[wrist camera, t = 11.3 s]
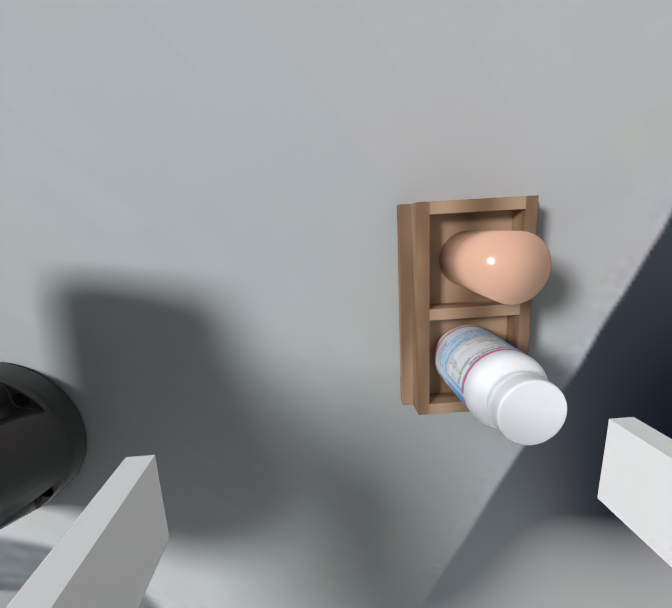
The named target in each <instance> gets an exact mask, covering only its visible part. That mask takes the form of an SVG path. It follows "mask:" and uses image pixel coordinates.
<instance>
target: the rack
mask: <svg viewBox="0 0 672 608" xmlns="http://www.w3.org/2000/svg"><path fill="white" fill-rule="evenodd" d="M538 196H539V195H537V196H520V197H503V198H485V199H468V200H450V201H433V202H417V203H413V204H404V205H397V221H398V275H399V328H400V382H401V401H402V404H403V405H407V404H413V405H414V407H415V409H416V410H417V412H418V414H419V415H422V414H436V413H449V412H463V411H469V410H468V409H467V407H466V406H465V405H464V404H463V403H462V401H461V400H460V399H459V398H458V397H457V395H456V394H455V393H454V392H453V391H452V389H451V388H450V387H449V386H448V384H447V383H446V382H445V381H444V380H443V378H442V377H441V376H440V375H439V373H438V371H437V370H436V367H435V364H434V351H435V347H436V345H437V343H438V341H439V340H440V338H441V337H442V336H443V335H444V334H445V333H447V332H448V331H450V330H452V329H454V328H456V327H459V326H463V325H476V326H479V327H482V328H484V329H486V330H487V331H489V332H491V333H492V334H494V335H496V336H497V337H499V338H500V339H502V340H504V341H505V342H507V343H509V344H510V345H512V346H514V347H515V348H517V349H518V350H520V351H522V352H523V353H525V354H526V355H528V347H529V332H530V317H531V302H532V299H530V300H528V301H526V302H523V303H520V304H514V305H508V304H502V303H499V302H497V301H494V300H492V299H489V298H487V297H485V296H482V295H480V294H478V293H475V292H473V291H470V290H468V289H466V288H463V287H461V286H458V285H456V284H454V283H452V282H450V281H449V280H448V279H447V278H446V277H445V276H444V275H443V273H442V271H441V268H440V264H439V257H440V252H441V249H442V247H443V245H444V244H445V242H446V241H447V240H448V239H449V238H450V237H451V236H452V235H454V234H456V233H458V232H460V231H464V230H496V231H526V232H530V233H532V234H535V235H536V226H537V211H538Z"/></svg>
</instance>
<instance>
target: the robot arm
mask: <svg viewBox="0 0 672 608" xmlns="http://www.w3.org/2000/svg"><path fill="white" fill-rule="evenodd" d="M85 451H86V434H85V429H84V425H83V422H82V420H81V417H80V415H79V413H78V411H77V409H76V408H75V406H74V405H73V403H72V402H71V401H70V399H69V398H68V397H67V396H66V395H65V394H64V393H63V392H62V391H61V390H60V389H59V388H58V387H57V386H56V385H55V384H53V383H52V382H51V381H49V380H48V379H46V378H44V377H43V376H41V375H39V374H37V373H35V372H33V371H31V370H29V369H26V368H23V367H20V366H17V365H12V364H7V363H0V529H2V528H4V527H5V526H7V525H9V524H11V523H13V522H14V521H16V520H18V519H20V518H22V517H23V516H25V515H27V514H29V513H31V512H32V511H34V510H36V509H38V508H39V507H41V506H43V505H44V504H46V503H47V502H49V501H50V500H51V499H52V498H54V497H55V496H56V495H57V494H58V493H59V492H60V491H61V490H62V489H63V488H64V487H65V486H66V485H67V484H68V483H69V482H70V481H71V480H72V479H73V478H74V476H75V475H76V474H77V472H78V471H79V469H80V467H81V465H82V463H83V460H84V456H85ZM598 499H599V500H600V501H602V502H603V503H604V504H605V505H606V506H607V507H608V508H609V509H610V510H611V511H612V512H613V513H614V514H615V515H616V516H617V517H618V518H620V519H621V520H622V521H623V522H624V523H625V524H626V525H627V526H628V527H629V528H630V529H632V531H633V532H635V533H636V534H637V535H638V536H639V537H640V538H641V539H642V540H643V541H644V542H645V543H646V544H647V545H648V546H649V547H650V548H652V549H653V550H654V551H655V552H656V553H657V554H658V555H659V556H660V557H661V558H662V559H663V560H664V561H665V562H666V563H668V564H669V565H670V566H671V567H672V439H670V438H669V437H667V436H665V435H663V434H662V433H660V432H658V431H657V430H655V429H653V428H651V427H650V426H648V425H646V424H645V423H643V422H641V421H640V420H638V419H636V418H634V417H626V418H614V419H609V424H608V431H607V437H606V444H605V452H604V458H603V465H602V471H601V478H600V485H599V491H598ZM168 540H169V533H168V527H167V521H166V515H165V510H164V504H163V498H162V492H161V486H160V481H159V475H158V469H157V463H156V457H155V455H146V456H134V457H126V458H125V459H124V460H123V461H122V463H121V464H120V465H119V466H118V468H117V469H116V470H115V471H114V473H113V474H112V475H111V476H110V478H109V479H108V480H107V481H106V483H105V484H104V485H103V486H102V488H101V489H100V490H99V491H98V493H97V494H96V495H95V496H94V498H93V499H92V500H91V501H90V503H89V504H88V505H87V506H86V508H85V509H84V510H83V511H82V513H81V514H80V515H79V516H78V518H77V519H76V520H75V521H74V523H73V524H72V525H71V526H70V528H69V529H68V530H67V531H66V533H65V534H64V535H63V536H62V538H61V539H60V540H59V542H58V543H57V544H56V545H55V546H54V548H53V549H52V550H51V552H50V553H49V554H48V555H47V557H46V558H45V559H44V560H43V562H42V563H41V564H40V565H39V567H38V568H37V569H36V570H35V572H34V573H33V574H32V575H31V577H30V578H29V579H28V580H27V582H26V583H25V584H24V585H23V587H22V588H21V589H20V590H19V592H18V593H17V594H16V595H15V597H14V598H13V599H12V600H11V602H10V603H9V604H8V605H7V607H6V608H138V607H139V605H140V603H141V600H142V598H143V596H144V594H145V591H146V589H147V587H148V585H149V583H150V580H151V578H152V576H153V574H154V572H155V569H156V567H157V565H158V563H159V560H160V558H161V556H162V554H163V552H164V549H165V547H166V545H167V543H168Z"/></svg>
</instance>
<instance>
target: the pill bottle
mask: <svg viewBox="0 0 672 608" xmlns="http://www.w3.org/2000/svg"><path fill="white" fill-rule="evenodd" d="M434 364H435V367H436V370H437V371H438V373H439V375H440V376H441V377H442V378H443V380H444V381H445V382H446V383H447V384H448V386H449V387H450V388H451V389H452V391H453V392H454V393H455V394H456V395H457V397H458V398H459V399H460V400H461V401H462V403H463V404H464V405H465V406H466V407H467V409H468V410H469V411H470V412H471V413H472V415H473V416H474V417H475V418H476V419H478V420H479V421H480V422H481V423H483V424H485V425H487V426H489V427H492V428H495V429H498V430H499V431H500V432H501V433H502V434H503V435H504V436H505V437H507V438H508V439H509V440H511V441H513V442H515V443H517V444H521V445H535V444H539V443H542V442H544V441H546V440H548V439H550V438H551V437H552V436H554V435H555V434H556V433H557V432H558V431H559V429H560V428H561V427H562V426H563V424H564V422H565V419H566V415H567V402H566V399H565V397H564V395H563V393H562V392H561V390H560V389H559V388H558V387H557V386H555V385H554V384H553V383H551V382H550V381H549V380H548V378H547V376H546V373H545V371H544V370H543V368H542V367H541V366H540V364H539V363H538V362H536V361H535V360H534V359H533V358H531V357H530V356H528V355H526V354H525V353H523V352H522V351H520V350H518V349H517V348H515V347H514V346H512V345H510V344H509V343H507V342H505V341H504V340H502V339H500V338H499V337H497V336H496V335H494V334H492V333H491V332H489V331H487V330H486V329H484V328H482V327H479V326H476V325H463V326H459V327H456V328H454V329H452V330H450V331H448V332H447V333H445V334H444V335H443V336H442V337H441V338H440V340H439V341H438V343H437V345H436V347H435V351H434Z"/></svg>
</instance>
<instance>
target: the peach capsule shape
mask: <svg viewBox="0 0 672 608" xmlns="http://www.w3.org/2000/svg"><path fill="white" fill-rule="evenodd" d="M439 264H440V268H441V271H442V273H443V275H444V276H445V277H446V278H447V279H448V280H449V281H450V282H452V283H454V284H456V285H458V286H461V287H463V288H466V289H468V290H470V291H473V292H475V293H478V294H480V295H482V296H485V297H487V298H489V299H492V300H494V301H497V302H499V303H502V304H508V305H514V304H520V303H523V302H526V301H528V300H530V299H532V298H533V297H534V296H536V295H537V294H538V293H539V292H540V291H541V290H542V289H543V287H544V286H545V284H546V282H547V281H548V278H549V276H550V272H551V255H550V252H549V249H548V247H547V246H546V244H545V243H544V242H543V240H542V239H540V238H539V237H538V236H536V235H535V234H532V233H530V232H526V231H496V230H464V231H460V232H458V233H456V234H454V235H452V236H451V237H450V238H449V239H448V240H447V241H446V242H445V244H444V245H443V247H442V249H441V252H440V257H439Z"/></svg>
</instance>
